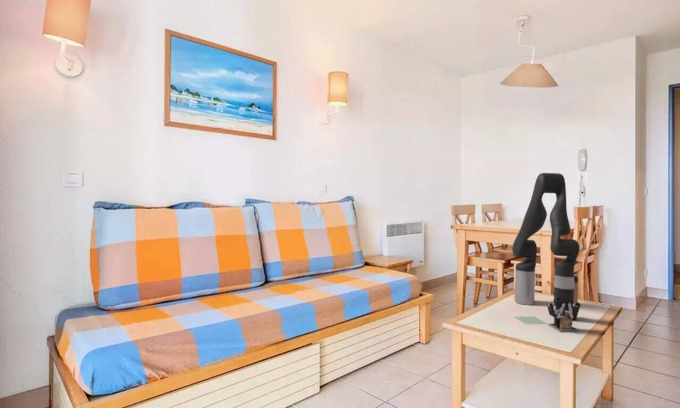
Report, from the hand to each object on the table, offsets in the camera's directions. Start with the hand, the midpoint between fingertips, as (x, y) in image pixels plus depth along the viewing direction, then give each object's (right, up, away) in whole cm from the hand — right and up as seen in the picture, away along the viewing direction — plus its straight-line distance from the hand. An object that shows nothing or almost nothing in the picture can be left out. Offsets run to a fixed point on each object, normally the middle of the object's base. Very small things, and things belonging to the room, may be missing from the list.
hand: (562, 326), depth 161 cm
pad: (-9, -1, +10) cm, 14 cm away
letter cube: (0, -1, 0) cm, 1 cm away
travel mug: (+10, -1, +14) cm, 17 cm away
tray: (0, -1, 0) cm, 1 cm away
